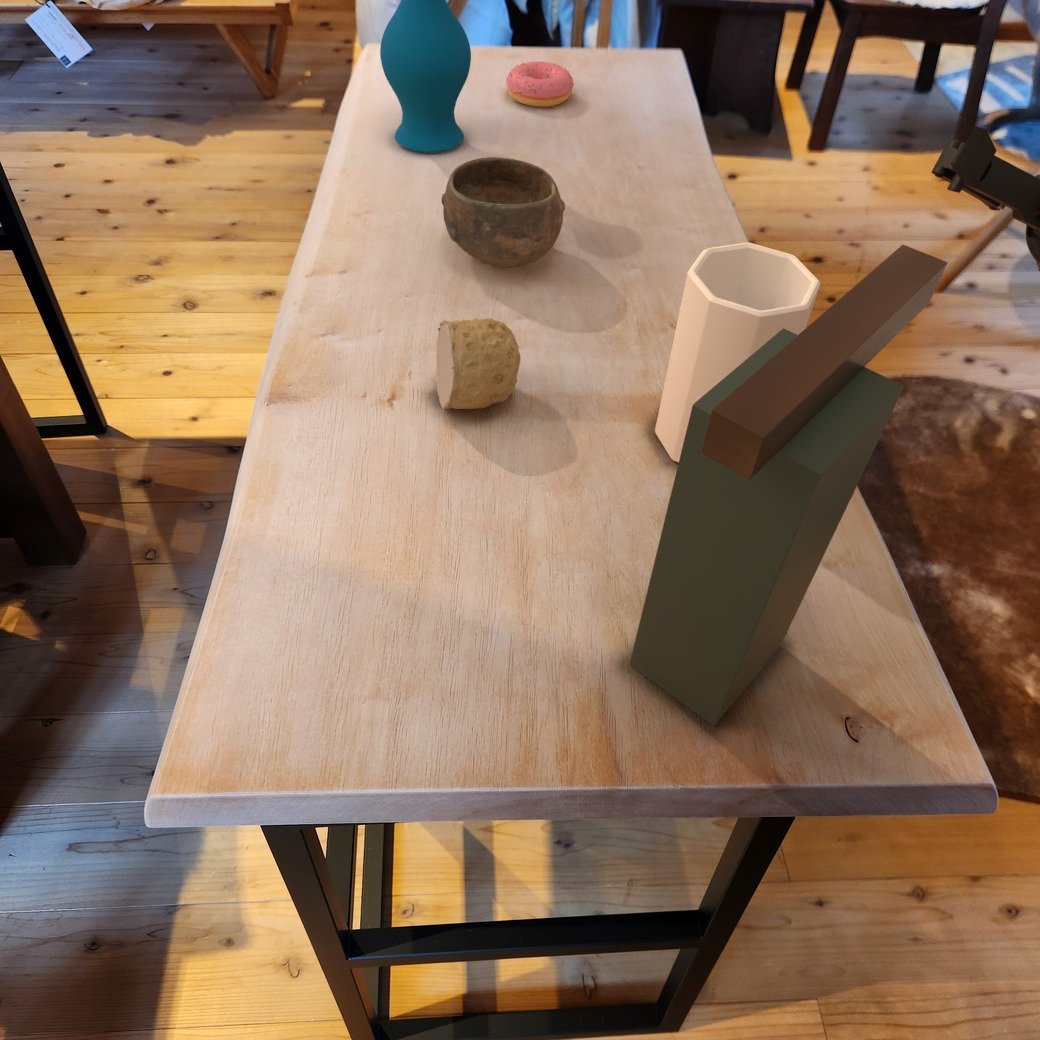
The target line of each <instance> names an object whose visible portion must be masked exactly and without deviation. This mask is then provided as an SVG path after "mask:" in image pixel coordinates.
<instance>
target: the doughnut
mask: <svg viewBox="0 0 1040 1040" xmlns="http://www.w3.org/2000/svg"><path fill="white" fill-rule="evenodd" d="M574 81H575V80H574V78H573V77H572V75H571V73H570V71H569V70H567V67H563V66H561V65H559V64H557V63H553V62H549V61H533V60H531V61H528V62H522V63H520V64H516V66H514V67H513V68H511V70H510V71H509V73H508V74H507V77H506V82H505V83H506V88H507V92H508V94H509V95H510V96H511V98H512V99H514V100H515V101H517V102H518V103H521V104H524V105H526V106H531V107H538V108H539V107H540V108H541V107H543V108H544V107H552V106H553V107H554V106H557V105H559V104H562V103H563V102H565V101H566V100H568V99H569V98H570V96H571V94H572V92H573V89H574V85H575V83H574Z"/></svg>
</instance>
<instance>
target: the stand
mask: <svg viewBox="0 0 1040 1040" xmlns="http://www.w3.org/2000/svg"><path fill="white" fill-rule="evenodd" d="M796 336H797V334H795V333H792V332H790V331H788V330H786V329H784V328H783V329H782V330H781V331H779V332H778V333H777V334H776V335H775V336H773V337H772V338H771V339H770V340H769V341H768V342H766V343H765V344H764V345H763V346H762V347H760V348H759V349H758V350H757V351H756V352H755V353H753V354H752V355H751V356H750V357H749V358H747V359H746V360H745V361H744V362H743V363H741V364H740V365H739V366H738V367H737V368H736V369H734V370H733V371H732V372H731V373H730V374H728V375H727V376H726V377H725V378H724V379H722V380H721V381H720V382H719V383H718V384H717V385H715V386H714V387H713V388H712V389H711V390H709V391H708V392H707V393H706V394H705V395H703V396H702V397H701V398H700V399H699V400H698V401H696V402H695V403H694V404H693V406H692V410H691V414H690V418H689V422H688V426H687V430H686V435H685V439H684V443H683V447H682V451H681V455H680V459H679V462H677V463H678V464H677V467H676V472H675V475H674V480H673V483H672V488H671V491H670V492H671V493H670V497H669V500H668V505H667V507H666V513H665V517H664V521H663V526H662V529H661V534H660V538H659V541H658V546H657V549H656V554H655V557H654V558H655V559H654V562H653V566H652V571H651V575H650V577H649V582H648V587H647V590H646V595H645V599H644V603H643V607H642V610H641V614H640V619H639V623H638V628H637V631H636V636H635V639H634V643H633V648H632V652H631V655H630V659H629V660H630V661H629V664H628V665H629V666H630V667H632V668H633V669H634V670H636V671H637V672H638V673H640V674H641V675H642V676H644V677H645V678H647V679H648V680H649V681H651V682H652V683H654V685H657V686H658V687H659V688H660V689H662V690H663V691H664V692H666V693H667V694H669V695H670V696H671V697H672V698H674V699H675V700H677V701H678V702H679V703H681V704H682V705H683V706H685V707H686V708H687V709H689V710H690V711H692V712H693V713H694V714H696V715H697V716H698V717H700V718H701V719H702V720H704V721H705V722H707V723H708V724H710V725H711V726H712V727H715V726H716V725H717V724H718V723H719V722H720V720H721V719H722V717H724V715H725V714H726V713H727V712H728V710H729V709H730V708H731V707H732V706H733V704H734V703H735V702H736V701H737V700H738V698H739V697H740V696H741V695H742V694H743V692H744V691H745V690H746V688H747V687H748V686H749V685H750V684H751V682H752V681H753V680H754V679H755V677H756V676H757V675H758V674H759V673H760V671H761V670H762V669H763V668H764V667H765V666H766V664H767V663H768V662H769V661H770V659H771V658H772V656H773V655H774V654H775V653H776V652H777V651H778V649H780V647H781V646H782V644H783V642H784V640H785V637H786V635H787V633H788V631H789V629H790V627H791V625H792V624H793V621H794V619H795V617H796V615H797V612H798V610H799V608H800V607H801V604H802V602H803V600H804V598H805V596H806V594H807V592H808V589H809V588H810V585H811V583H812V581H813V579H814V577H815V575H816V572H817V570H818V569H819V566H820V564H821V562H822V560H823V558H824V557H825V554H826V552H827V550H828V548H829V546H830V543H831V542H832V539H833V538H834V535H835V532H837V528H838V526H839V524H840V523H841V520H842V518H843V516H844V514H845V512H846V511H847V508H848V505H849V504H850V502H851V500H852V497H853V495H854V493H855V491H856V489H857V487H858V485H859V482H860V480H861V479H862V477H863V474H864V472H865V470H866V468H867V466H868V464H869V462H870V459H871V457H872V456H873V453H874V452H875V450H876V447H877V445H878V443H879V441H880V440H881V439H880V438H881V437H882V435H883V433H884V430H885V428H886V426H887V424H888V422H889V421H890V420H889V419H890V418H891V416H892V413H893V411H894V410H895V407H896V405H897V403H898V401H899V399H900V396H901V394H902V392H903V391H904V388H905V385H904V384H902V383H900V382H897V381H896V380H894V379H891V378H889V377H887V376H885V375H883V374H880V373H878V372H876V371H874V370H872V369H870V368H867V366H865V367H864V368H863V369H862V370H861V371H860V372H859V373H858V374H857V375H856V376H855V377H854V378H853V379H852V380H851V381H850V382H849V383H848V384H847V385H846V386H845V387H844V388H843V389H842V390H841V391H840V392H839V393H837V394H836V395H835V396H834V397H833V398H832V399H831V400H830V401H829V402H828V403H827V404H826V405H825V406H824V407H823V408H822V409H821V410H820V411H819V412H818V413H817V414H816V415H815V416H814V417H813V418H812V419H811V420H810V421H809V422H808V423H807V424H806V425H805V426H804V427H803V428H802V429H801V430H800V431H799V432H798V433H797V434H796V435H795V436H794V437H793V438H792V439H791V440H790V441H789V442H788V443H787V444H786V445H785V446H784V447H783V448H782V449H781V450H780V451H779V452H778V453H777V454H776V455H775V456H773V457H772V458H771V459H770V460H769V461H768V462H767V463H766V464H765V465H764V466H763V467H762V468H761V469H760V470H759V471H758V472H757V473H756V474H755V475H754V476H753V477H752V478H751V479H750V480H747V479H745V478H744V477H742V476H740V475H738V474H737V473H735V472H733V471H732V470H730V469H728V468H726V467H725V466H723V465H721V464H719V463H718V462H716V461H714V460H712V459H711V458H709V457H707V456H705V455H704V454H702V453H701V449H702V445H703V441H704V437H705V434H706V430H707V426H708V422H709V419H710V415H711V411H712V409H713V408H714V407H715V406H717V405H718V404H719V403H720V402H721V401H722V400H724V399H725V398H726V397H727V396H728V395H729V394H731V393H732V392H733V391H734V390H735V389H736V388H737V387H739V386H740V385H741V384H742V383H743V382H744V381H746V380H747V379H748V378H749V377H750V376H751V375H752V374H754V373H755V372H756V371H757V370H758V369H759V368H761V367H762V366H763V365H764V364H765V363H766V362H767V361H769V360H770V359H771V358H772V357H773V356H774V355H776V354H777V353H778V352H779V351H780V350H781V349H782V348H784V347H785V346H786V345H787V344H788V343H789V342H791V341H792V340H793V339H794V338H795V337H796Z"/></svg>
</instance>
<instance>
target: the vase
mask: <svg viewBox="0 0 1040 1040" xmlns="http://www.w3.org/2000/svg"><path fill="white" fill-rule="evenodd" d="M379 52H380V53H379V56H380V62H381V63H380V64H381V67H382V70H383V74H384V76H385V78H386V80H387V82H388V84H389V86H390V87H391V89H392V91H393V93H394V94H395V97H396V98H397V100H398V103H399V105H400V108H401V123H400V124H399V126H398V127H397V129H396V131H395V132H394V139H395V141H396V142H397V143H398V144H399V145H400V146H402V147H403V148H404V149H407V150H410V151H412V152H417V153H427V154H429V153H433V154H434V153H442V152H446V151H450V150H453V149H455V148H456V147H458V146H459V145H461V143H462V142H463V140H464V139H465V134H464V132H463V130H462V129H461V127H460V125H458V124H457V121H456V117H455V109H456V104H457V102H458V98H459V96H460V94H461V93H462V90H463V88H464V86H465V84H466V82H467V80H468V77H469V73H470V69H471V61H472V50H471V45H470V41H469V38H468V35H467V33H466V30H465V29H464V27H463V25H462V24H461V22H460V21H459V19H458V18H457V16H456V15H455V14H454V12H453V10H452V9H451V8H450V5H449V4H448V2H447V1H446V0H400V2H399V4H398V6H397V8H396V10H395V12H394V13H393V15H392V16H391V18H390V20H389V21H388V23H387V25H386V27H385V29H384V31H383V33H382V37H381V41H380V48H379Z"/></svg>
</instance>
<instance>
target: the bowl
mask: <svg viewBox="0 0 1040 1040" xmlns="http://www.w3.org/2000/svg"><path fill="white" fill-rule="evenodd" d="M441 204H442V206H443V207H442V210H443V211H442V213H443V215H442V216H443V221H444V224H445V228H446V231H447V233H448V236H449V238H450V240H451V241H452V242H454V243H455V244H456V245H457V246H458V247H459V248H460V249H461V250H462V251H464V253H466V254H467V255H468V256H471V257H473V258H474V259H476V260H478V261H480V262H481V263H484V264H485V265H488V266H490V267H492V268H497V269H503V270H507V269H509V270H510V269H517V268H521V267H524V266H526V265H529V264H532V263H535V262H536V261H538V260H540V259H542V258H543V257H544V256H545V255H546V254H548V252H549V251H550V250H551V249H552V248H553V247H554V245H555V244H556V242H557V240H558V238H559V235H560V233H561V229H562V226H563V221H564V212H565V211H566V204H565V202H564V201H563V199H562V198H561V194H560V192H559V189H558V185H557V184H556V181H555V180H554V178H553V177H552V175H551V174H550V173H549V172H547V171H546V170H545V169H544V168H542V167H540V166H538V165H536V164H534V163H530V162H527V161H524V160H519V159H515V158H507V157H498V156H488V157H487V156H486V157H479V158H475V159H471V160H468V161H466V162H464V163H462V164H460V165H457V167H456V168H455V169H453V170H452V172H451V174H450V175H449V178H448V181H447V183H446V187H445V192H444V193H442V194H441Z"/></svg>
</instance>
